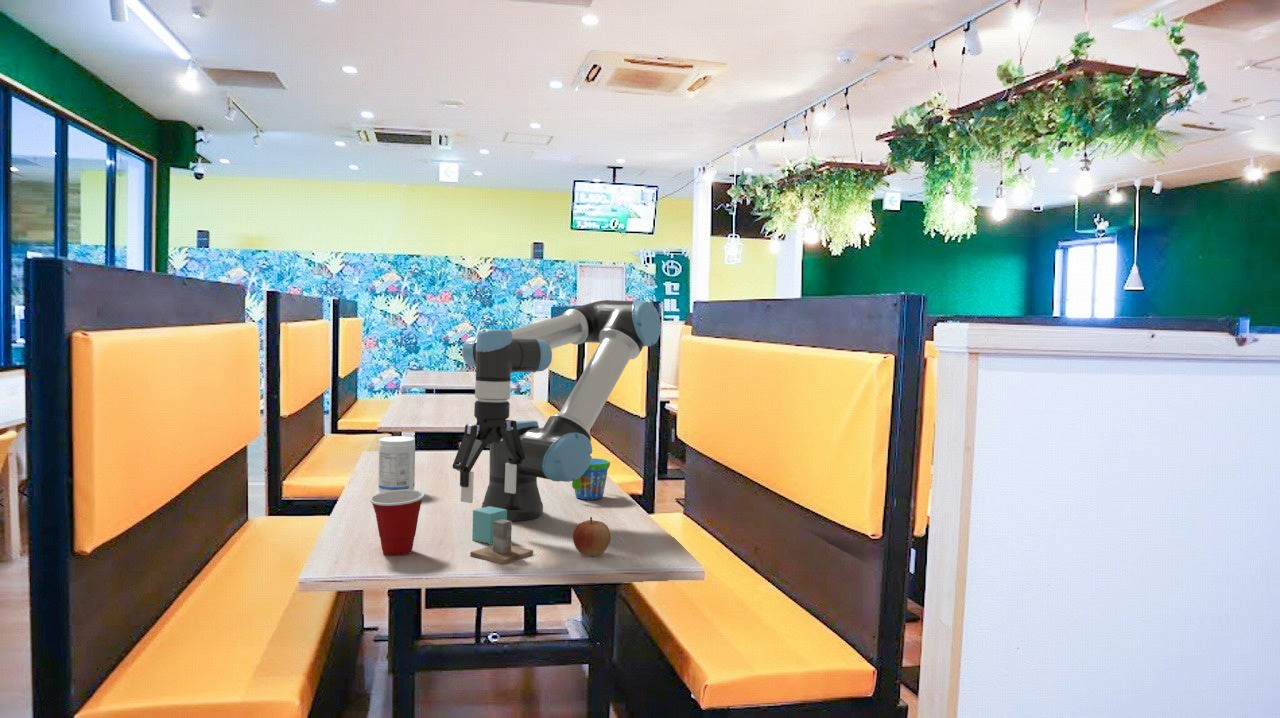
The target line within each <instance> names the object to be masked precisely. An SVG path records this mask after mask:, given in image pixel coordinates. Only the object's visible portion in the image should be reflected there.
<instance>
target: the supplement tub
mask: <svg viewBox="0 0 1280 718" xmlns="http://www.w3.org/2000/svg"><path fill="white" fill-rule="evenodd" d="M378 443H379V444H378V492H379V493H383V492H388V491H394V490H415V477H416V474H415V473H416V472H415V469H416V443H415V438H414V437H412V436H405V435H404V436H403V435H402V436H401V435H400V436H398V435H397V436H395V435H393V436H384V437H381V438H379V442H378Z"/></svg>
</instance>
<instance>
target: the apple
mask: <svg viewBox="0 0 1280 718" xmlns="http://www.w3.org/2000/svg"><path fill="white" fill-rule="evenodd" d="M611 536H612V534H611V530H610V528H609V527H608V525H607V524H606V523H604V522H602V521H599V520H594V519H593V517H592V516H590V517H589V519H587V520H585V521H584V520H583V522H582V521H581V522H580V523H578V524H577V525H576V526H575V527H574V530H573V532H572V539H573V544H574V547H575V549H576V551H578V552H579V554H581V555H583V556H588V557H596V556H600V555H601V554H603V553H604V552H605V551H607V548H608V547H609V545H610V543H611Z"/></svg>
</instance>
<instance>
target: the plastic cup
mask: <svg viewBox="0 0 1280 718" xmlns="http://www.w3.org/2000/svg"><path fill="white" fill-rule="evenodd" d="M424 497H425V492H423V491H422V490H417V489H414V490H394V491H388V492H383V493H380V492H379V493H376V494H374V495H372V496H371V497H370V498H369V502H370V503H371V505H372V507H373V511H374V513H375V518H376V524H377V530H378V534H379V535H378V536H379V538H380V539H379V540H380V546H381V551H382V553H383V554H384V555H385V554H386V556H390V555H393V557H397V556H396V555H400V556H406V555H409V554H411V553H412V550H413V547H414V542H415V537H416V532H417V527H418V526H417V525H418V522H419V515H420V510H421V506H422V502H423V499H424ZM410 552H411V553H410ZM405 554H406V555H405ZM394 555H395V556H394Z"/></svg>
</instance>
